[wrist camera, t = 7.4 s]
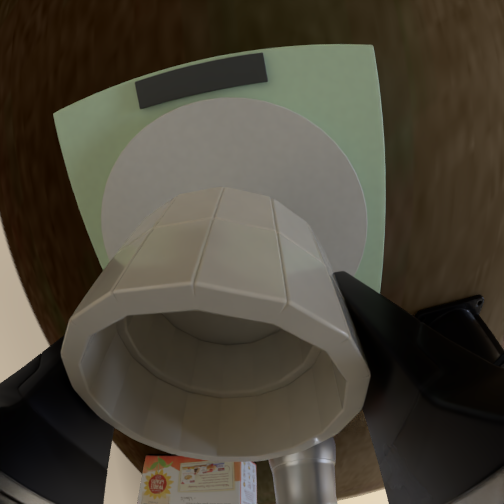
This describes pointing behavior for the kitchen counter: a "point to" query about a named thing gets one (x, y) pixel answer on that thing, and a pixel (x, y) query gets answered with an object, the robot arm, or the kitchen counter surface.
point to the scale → (239, 145)
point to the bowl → (219, 333)
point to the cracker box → (197, 481)
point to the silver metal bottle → (306, 475)
